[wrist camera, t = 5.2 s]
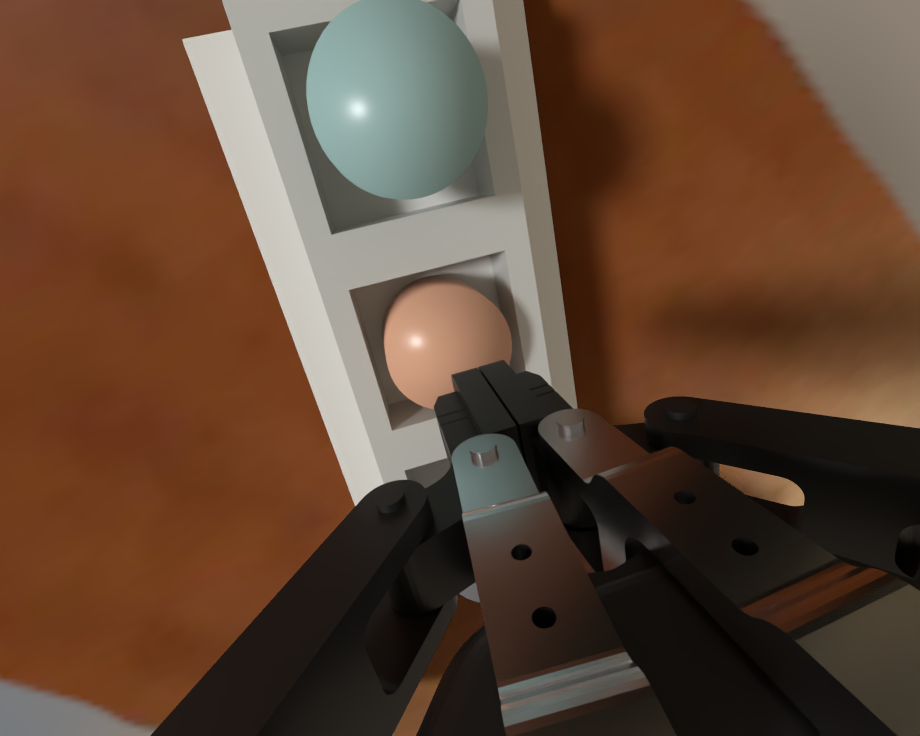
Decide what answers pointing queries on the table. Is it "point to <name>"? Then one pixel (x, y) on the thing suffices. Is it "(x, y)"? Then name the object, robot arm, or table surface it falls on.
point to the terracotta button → (440, 336)
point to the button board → (384, 225)
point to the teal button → (397, 97)
